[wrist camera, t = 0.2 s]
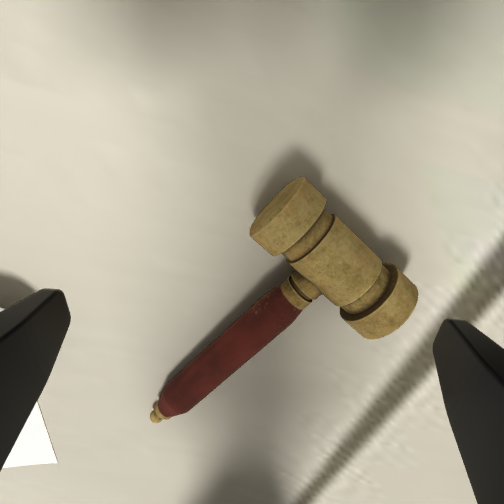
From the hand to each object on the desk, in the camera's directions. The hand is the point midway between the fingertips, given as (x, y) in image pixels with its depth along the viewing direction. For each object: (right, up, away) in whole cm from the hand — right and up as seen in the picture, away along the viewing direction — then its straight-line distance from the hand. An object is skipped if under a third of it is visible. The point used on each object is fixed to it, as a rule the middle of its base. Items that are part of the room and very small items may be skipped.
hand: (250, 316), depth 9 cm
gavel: (0, -4, +18) cm, 19 cm away
